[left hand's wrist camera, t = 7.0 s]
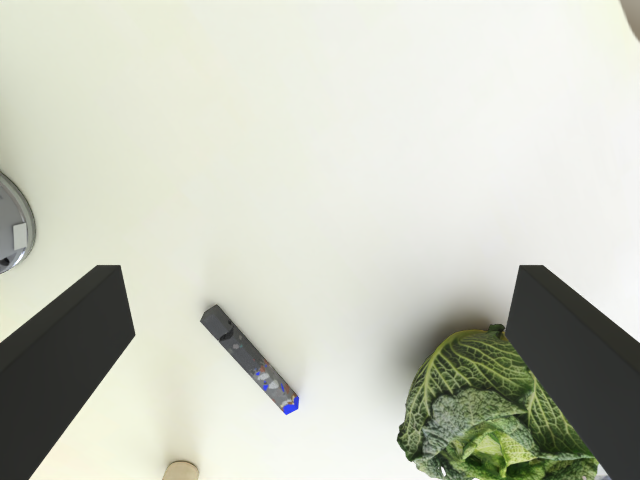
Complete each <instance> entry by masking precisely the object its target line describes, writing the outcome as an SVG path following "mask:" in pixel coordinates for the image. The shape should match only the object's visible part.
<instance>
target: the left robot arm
mask: <svg viewBox="0 0 640 480" xmlns="http://www.w3.org/2000/svg"><path fill="white" fill-rule="evenodd" d="M34 240H35V223H34V218H33V215H32V212H31V209H30V207H29V205H28V203H27V201H26V199H25V198H24V196H23V195H22V193H21V192H20V191H19V189H18V188H17V187H16V186H15V185H14V184H13V183H12V182H11V181H10V180H9V179H8V178H7V177H6V176H5V175H3V174H2V173H1V172H0V274H1V273H4V272H6V271H7V270H9V269H11V268H13V267H14V266H16V265H18V264H19V263H20V262H22V261H23V260H24V259H25V258H26V257H27V256H28V254H29V253H30V251H31V249H32V247H33V244H34ZM134 336H135V331H134V326H133V321H132V317H131V312H130V308H129V303H128V298H127V294H126V289H125V284H124V280H123V275H122V271H121V266H120V265H97V266H95V267H94V268H93V269H92V270H90V271H89V272H88V273H87V274H85V275H84V276H83V277H82V278H81V279H79V280H78V281H77V282H76V283H74V284H73V285H72V286H71V287H69V288H68V289H67V290H66V291H64V292H63V293H62V294H61V295H59V296H58V297H57V298H56V299H54V300H53V301H52V302H51V303H49V304H48V305H47V306H46V307H45V308H43V309H42V310H41V311H40V312H38V313H37V314H36V315H35V316H33V317H32V318H31V319H30V320H28V321H27V322H26V323H25V324H23V325H22V326H21V327H20V328H18V329H17V330H16V331H15V332H13V333H12V334H11V335H10V336H9V337H7V338H6V339H5V340H4V341H2V342H1V343H0V480H29V478H30V477H31V476H32V474H33V473H34V472H35V470H36V469H37V468H38V466H39V465H40V464H41V462H42V461H43V460H44V458H45V457H46V456H47V454H48V453H49V451H50V450H51V449H52V447H53V446H54V445H55V443H56V442H57V441H58V439H59V438H60V437H61V435H62V434H63V433H64V431H65V430H66V428H67V427H68V426H69V424H70V423H71V422H72V420H73V419H74V418H75V416H76V415H77V414H78V412H79V411H80V410H81V408H82V407H83V405H84V404H85V403H86V401H87V400H88V399H89V397H90V396H91V395H92V393H93V392H94V391H95V389H96V388H97V387H98V385H99V384H100V382H101V381H102V380H103V378H104V377H105V376H106V374H107V373H108V372H109V370H110V369H111V368H112V366H113V365H114V364H115V362H116V361H117V359H118V358H119V357H120V355H121V354H122V353H123V351H124V350H125V349H126V347H127V346H128V345H129V343H130V342H131V341H132V339H133V338H134ZM505 337H506V338H507V339H508V341H509V342H510V343H511V345H512V346H513V347H514V349H515V350H516V351H517V353H518V354H519V355H520V357H521V358H522V359H523V361H524V362H525V364H526V365H527V366H528V368H529V369H530V370H531V372H532V373H533V374H534V376H535V377H536V378H537V380H538V381H539V382H540V384H541V385H542V387H543V388H544V389H545V391H546V392H547V393H548V395H549V396H550V397H551V399H552V400H553V401H554V403H555V404H556V405H557V407H558V408H559V410H560V411H561V412H562V414H563V415H564V416H565V418H566V419H567V420H568V422H569V423H570V424H571V426H572V427H573V428H574V430H575V431H576V433H577V434H578V435H579V437H580V438H581V439H582V441H583V442H584V443H585V445H586V446H587V447H588V449H589V450H590V451H591V453H592V454H593V456H594V457H595V458H596V460H597V461H598V462H599V464H600V465H601V466H602V468H603V469H604V470H605V472H606V473H607V474H608V476H609V477H610V479H611V480H640V343H639V342H638V341H636V340H635V339H634V338H633V337H631V336H630V335H629V334H628V333H627V332H625V331H624V330H623V329H622V328H620V327H619V326H618V325H617V324H615V323H614V322H613V321H612V320H610V319H609V318H608V317H607V316H605V315H604V314H603V313H602V312H600V311H599V310H598V309H597V308H595V307H594V306H593V305H592V304H591V303H589V302H588V301H587V300H586V299H584V298H583V297H582V296H581V295H579V294H578V293H577V292H576V291H574V290H573V289H572V288H571V287H569V286H568V285H567V284H566V283H564V282H563V281H562V280H561V279H559V278H558V277H557V276H556V275H555V274H553V273H552V272H551V271H550V270H548V269H547V268H546V267H545V266H543V265H520V266H519V271H518V275H517V280H516V284H515V289H514V294H513V298H512V303H511V308H510V312H509V317H508V321H507V326H506V331H505Z"/></svg>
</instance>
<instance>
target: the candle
mask: <svg viewBox="0 0 640 480" xmlns="http://www.w3.org/2000/svg"><path fill="white" fill-rule="evenodd" d="M198 477H199V472H198V470H197V469H196V467H195V466H193V465H192V464H190V463H187V462H175V463H172V464H171V465H169V466H168V468H167V469H166V472H165V474H164V476H163V479H162V480H198Z"/></svg>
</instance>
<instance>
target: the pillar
mask: <svg viewBox="0 0 640 480" xmlns="http://www.w3.org/2000/svg"><path fill="white" fill-rule="evenodd" d="M200 322H201V323H202V324H203V325H204V326H205V327H206V328H207V329H208V331H209V332H210V333H211V334H212V335H213V336H214V337H215V338H216V339H217V340H219V343H220V344H221V345H222V346H223V347H224V348H225V349H226V350H227V351H228V352H229V353H230V355H231V356H232V357H233V358H234V359H235V360H236V361H237V362H238V363H239V364H240V365H241V366H242V368H243V369H244V370H245V371H246V372H247V373H248V374H249V375H250V376H251V377H252V378H253V380H254V381H255V382H256V383H257V384H258V385H259V386H260V387H261V388H262V389H263V390H264V392H265V393H266V394H267V395H268V396H269V397H270V398H271V399H272V400H273V401H274V402H275V404H276V405H277V406H278V407H279V408H280V409H281V410H282V411H283V412H284V413H285V414H286V415H287V414H289V413H291V412H293V411H295V410H297V409H298V404H299V397H298V396H297V395H296V394H295V393H294V392H293V390H292V389H291V388H290V387H289V386H288V385H287V384H286V383H285V381H284V380H283V379H282V378H281V377H280V376H279V375H278V373H277V372H276V371H275V370H274V369H273V368H272V367H271V366H270V364H269V363H268V362H267V361H266V360H265V359H264V358H263V356H262V355H261V354H260V353H259V352H258V351H257V350H256V349H255V347H254V346H253V345H252V344H251V343H250V342H249V341H248V339H247V338H246V337H245V336H244V335H243V334H242V333H241V332H240V330H239V329H238V328H237V327H236V326H235V325H234V324H233V322H232V321H231V320H230V319H229V318H228V317H227V316H226V315H225V313H224V312H223V311H222V310H221V309H220V308H219V307H218V305H216V306H214V307H212V308H211V309H209V310H207V311H206V312H204V314H203V316H202V318H201V320H200ZM226 333H227V334H226Z"/></svg>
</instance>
